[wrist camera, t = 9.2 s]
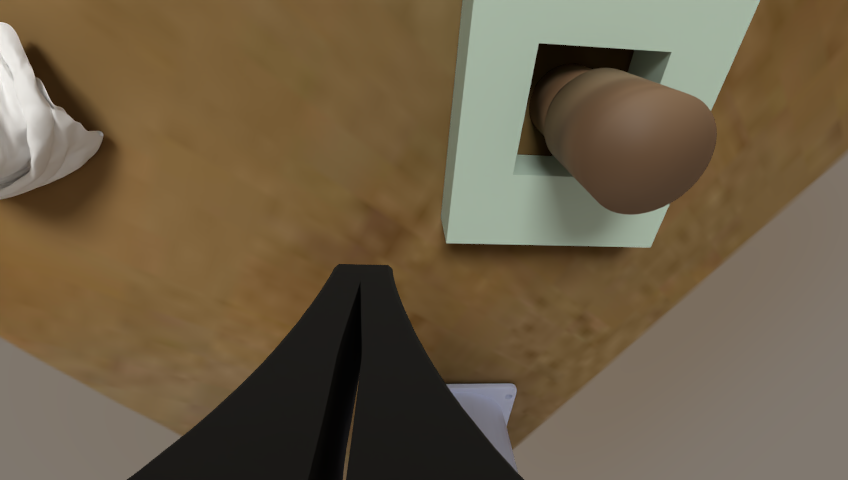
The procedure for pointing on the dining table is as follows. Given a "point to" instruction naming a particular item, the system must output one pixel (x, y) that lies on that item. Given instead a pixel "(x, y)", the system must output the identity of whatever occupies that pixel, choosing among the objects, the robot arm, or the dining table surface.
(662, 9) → the board
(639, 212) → the peg
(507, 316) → the dining table surface
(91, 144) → the whipped cream
